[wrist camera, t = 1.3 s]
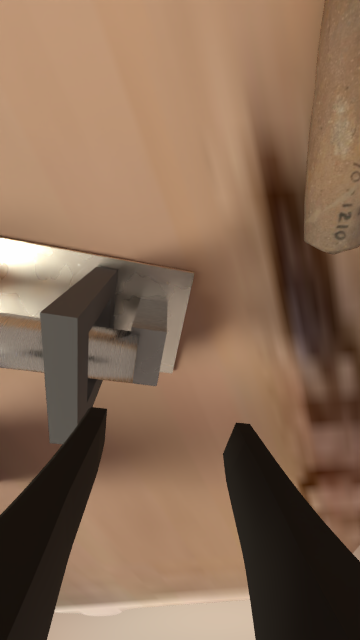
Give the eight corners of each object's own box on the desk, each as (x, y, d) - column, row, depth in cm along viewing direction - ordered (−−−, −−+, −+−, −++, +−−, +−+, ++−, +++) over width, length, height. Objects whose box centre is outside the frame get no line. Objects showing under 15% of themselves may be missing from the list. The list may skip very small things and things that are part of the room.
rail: (193, 271, 17) (210, 315, 10) (172, 370, 21) (173, 450, 14) (-157, 208, 14) (-454, 209, 7) (-107, 334, 18) (-273, 411, 11)
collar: (117, 270, 16) (77, 317, 9) (110, 360, 19) (77, 445, 12) (96, 266, 16) (39, 312, 9) (93, 358, 19) (49, 443, 12)
